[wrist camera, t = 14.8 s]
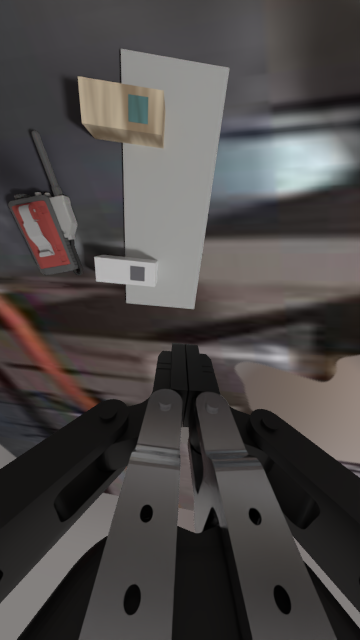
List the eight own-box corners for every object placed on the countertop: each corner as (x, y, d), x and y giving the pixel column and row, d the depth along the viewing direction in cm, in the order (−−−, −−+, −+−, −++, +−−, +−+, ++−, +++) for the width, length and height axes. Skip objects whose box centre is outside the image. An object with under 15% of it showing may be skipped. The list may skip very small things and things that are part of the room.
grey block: (155, 263, 30) (94, 256, 29) (154, 287, 32) (96, 281, 31) (158, 260, 34) (103, 254, 33) (156, 281, 35) (104, 276, 35)
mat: (228, 69, 24) (229, 67, 24) (193, 308, 38) (193, 309, 38) (121, 51, 23) (120, 48, 23) (126, 302, 37) (126, 302, 37)
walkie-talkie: (96, 271, 35) (47, 133, 26) (86, 276, 31) (24, 115, 22) (53, 278, 35) (-9, 146, 27) (37, 284, 31) (-41, 130, 23)
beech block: (163, 90, 22) (77, 75, 21) (161, 134, 23) (81, 122, 23) (165, 111, 25) (92, 99, 25) (163, 148, 27) (94, 138, 26)
